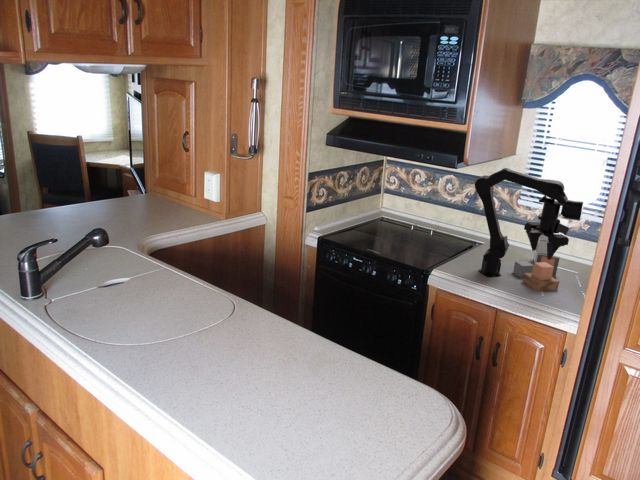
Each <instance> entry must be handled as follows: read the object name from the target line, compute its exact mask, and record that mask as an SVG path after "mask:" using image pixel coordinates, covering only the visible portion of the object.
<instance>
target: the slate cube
mask: <svg viewBox="0 0 640 480" xmlns="http://www.w3.org/2000/svg"><path fill="white" fill-rule="evenodd" d="M513 265H514V266H513V270H512V273H513V274H514V275H516V276H517V277H518V278H522V279H523V276H524V273H532V271H533V266H534V264H532V263H530V262H529V261H527V260H519V261H518V260H517V261H516V260H515V261H514V264H513Z"/></svg>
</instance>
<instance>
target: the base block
mask: <svg viewBox="0 0 640 480" xmlns="http://www.w3.org/2000/svg"><path fill="white" fill-rule="evenodd" d="M522 283H523V284H525V285H526V286H528V287H529V288H531V289H532V290H534V291H535V292H551V291H558V289H559V285H560V280H558V279H557V278H553V277H552V279H549V280H539V279H538V278H536V277H534V276H533V275H532V273H524V276H523V278H522Z"/></svg>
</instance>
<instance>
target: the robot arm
mask: <svg viewBox="0 0 640 480" xmlns="http://www.w3.org/2000/svg"><path fill="white" fill-rule="evenodd" d="M503 181H507V182H510V183H513V184H516V185H520V186H522V187H526V188H528V189H532V190H535V191H537V192H538V193H540V194H541V195H543V196H542V197H540V198H539V199H538V203H543V205H542V211H541V213H540V214H541V215H538V217H537V219H538V220H539V222H535V221H534V222H532V221H531V222H525V224H524V227H523V230H525V233H526V235H527V238H528V240H529V241H528V242H529V244H530V247H531V250H532V252H535V250H536V247H537V243H538V240H539V237H540V236H541V235H542V234H543V235H544V236H546V237H548V241H549V242H547V259H548V260H550V259H551V258H552V256H554V255H555V253H556V252H557V250H559V248H560V247H564V246H568V245H569V242H570V239H569V237H568V236H566V235H567V234H568V233H569V230H570V227H569V226H566V225H565V224H562V223H561V219H559V214H560V215H561V216H562V218H563V219H569V220H574V221H577V222H578V221H579V222H580V220H581V217H582V212H583V205H584V201H580V200H579V201H577V200H571V199H569V198H568V196H567V194H566V193H565V186H564V183H563V181H559V180H555V179H545V178H544V179H543V178H538V177H535V176H532V175H527V174H526V173H525V174H524V173H522V172H519V171H515V170H512V169H510V168H507V167H504V168H502V169H500V170H499V171H496V172H494V173H492V174H490V175H481V176H480V177H479V178H478V179H477V180H476V181H475V182H474V188H475V191H476V193H477V195H478V197H479V199H480V200H481V202H482V207H483V210H484V215H485V220H486V223H487V227H488V232H489V248H488V249H487V250H486V251H485V252H484V254H483V256H482V261H481V262H482V263H481V268H480V269H478V271H479V272H480V273H481V274H483V275H484V276H485V277H500V276H502V274H501V273H500V272H501V268H502V267H501V266H502V263H501V262H502V260H501V259H502V258H504V257H505V255H506V253H507V252H508V250H509V247H510V243H509V241H508V235H503V234H502V231H501V226H500V222H499V218H498V214H497V208H496V203H495V200H494V192H495V191H494V190H495V188H494V186H495V185H497V184H499V183H501V182H503ZM560 210H561V211H560ZM554 233H555V234H554Z"/></svg>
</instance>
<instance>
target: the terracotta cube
mask: <svg viewBox="0 0 640 480" xmlns="http://www.w3.org/2000/svg"><path fill="white" fill-rule="evenodd" d="M533 265H534V266H533V271H532V275H533V276H534V277H536V278H538V279H539V280H549V279H552V274H553V269H554V267H553V266H551V265H550V264H548V263H546V262H538V263H533Z"/></svg>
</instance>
